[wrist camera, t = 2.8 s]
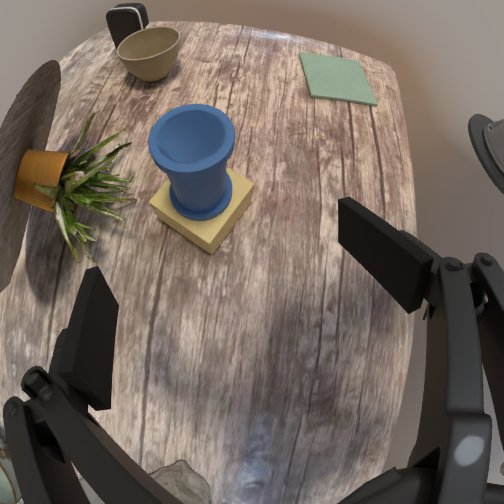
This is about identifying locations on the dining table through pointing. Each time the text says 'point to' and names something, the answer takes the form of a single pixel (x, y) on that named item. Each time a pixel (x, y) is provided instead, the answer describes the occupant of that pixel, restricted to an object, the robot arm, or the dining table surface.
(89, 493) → the coffee maker
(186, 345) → the dining table surface
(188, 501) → the decorative stone
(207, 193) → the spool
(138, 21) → the battery charger
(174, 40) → the beige round container
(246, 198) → the platform
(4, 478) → the bowl
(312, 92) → the mat
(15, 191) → the potted plant
